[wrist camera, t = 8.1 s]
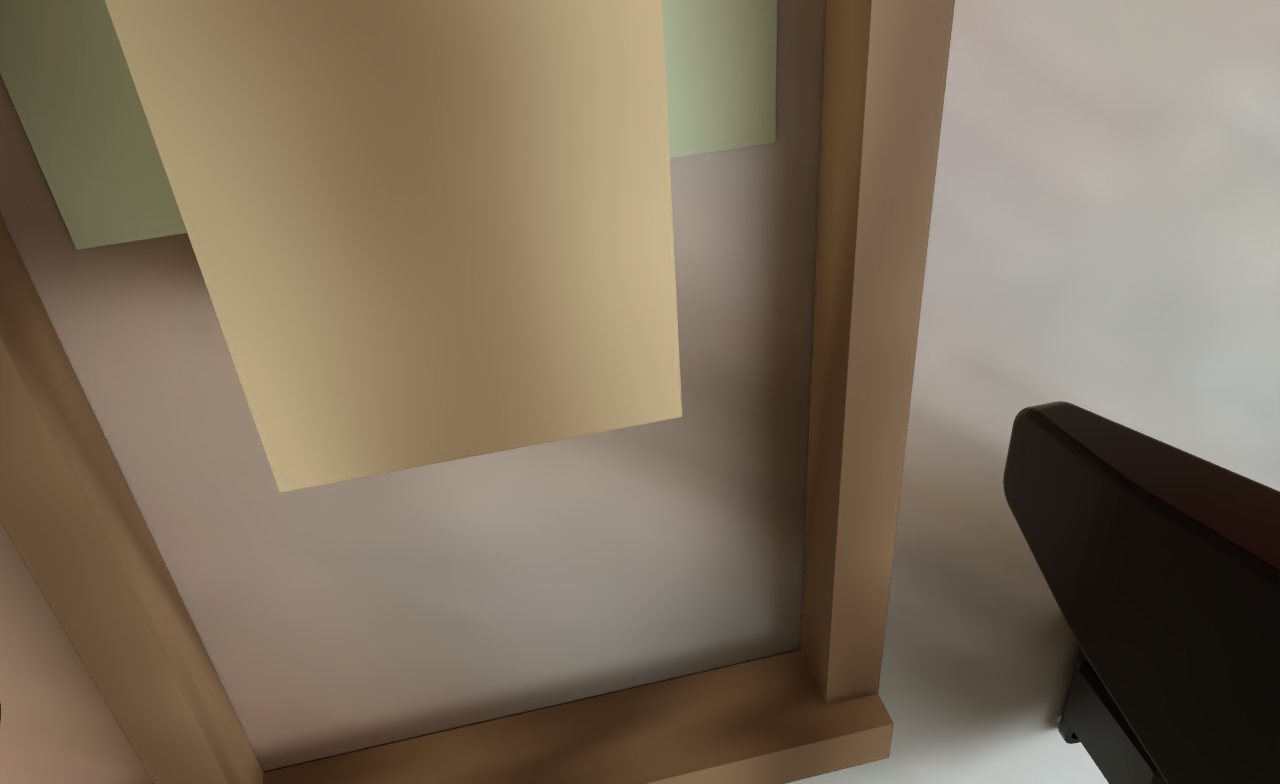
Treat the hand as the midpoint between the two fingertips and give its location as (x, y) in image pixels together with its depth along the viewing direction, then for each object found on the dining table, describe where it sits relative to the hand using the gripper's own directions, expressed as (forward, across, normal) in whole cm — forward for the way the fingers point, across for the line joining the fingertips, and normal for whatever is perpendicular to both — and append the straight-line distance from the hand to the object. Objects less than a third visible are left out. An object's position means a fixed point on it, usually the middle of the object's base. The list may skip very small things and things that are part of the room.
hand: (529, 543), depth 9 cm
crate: (+12, 0, -1) cm, 12 cm away
